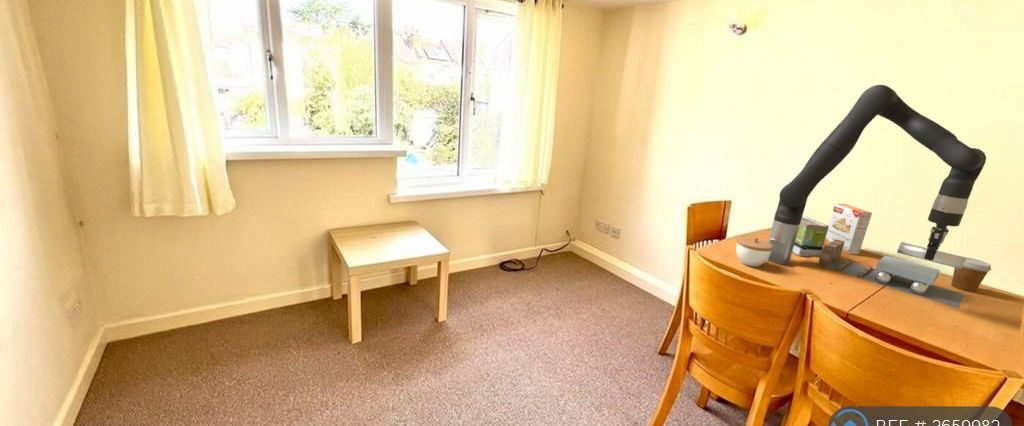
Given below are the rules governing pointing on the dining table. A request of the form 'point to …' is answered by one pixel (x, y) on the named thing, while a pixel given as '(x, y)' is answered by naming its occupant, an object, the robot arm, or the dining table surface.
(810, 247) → the tea box
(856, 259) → the dining table surface
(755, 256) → the lidded bowl
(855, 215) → the cracker box
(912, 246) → the roller
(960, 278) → the disposable coffee cup
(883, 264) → the slab
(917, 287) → the bed rollers
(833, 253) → the wooden stops
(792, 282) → the dining table surface
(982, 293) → the dining table surface
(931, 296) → the mat
